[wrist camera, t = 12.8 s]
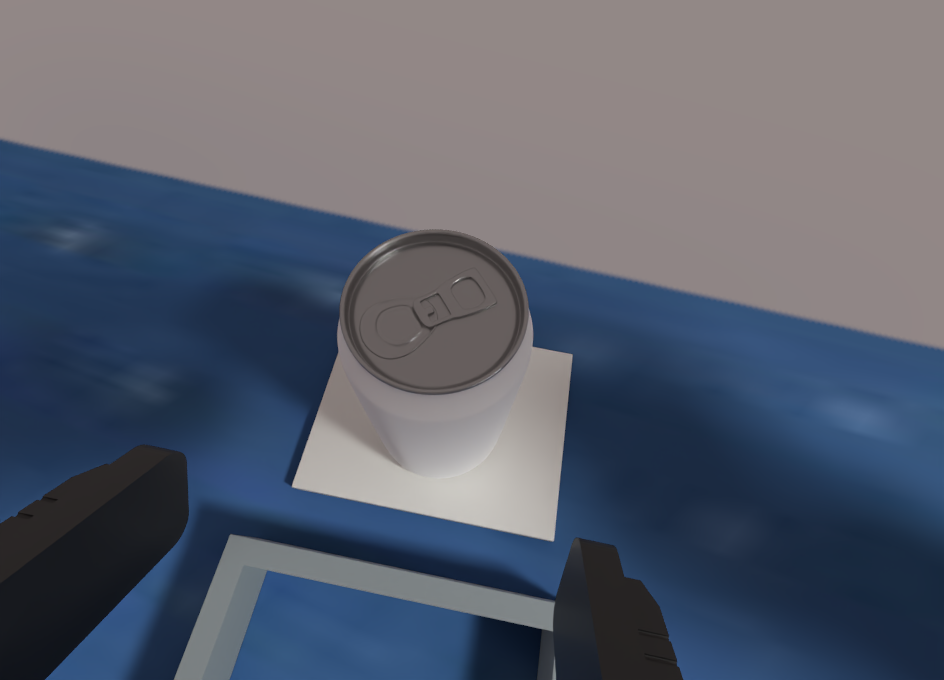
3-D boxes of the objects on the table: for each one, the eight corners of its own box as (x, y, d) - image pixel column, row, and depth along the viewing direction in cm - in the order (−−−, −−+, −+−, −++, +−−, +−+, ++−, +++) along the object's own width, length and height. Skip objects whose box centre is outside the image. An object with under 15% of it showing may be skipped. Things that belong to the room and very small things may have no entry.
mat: (570, 358, 27) (572, 354, 27) (551, 541, 23) (553, 541, 22) (354, 317, 28) (352, 312, 27) (295, 488, 23) (291, 486, 23)
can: (359, 394, 25) (291, 265, 14) (464, 342, 26) (476, 192, 16) (412, 505, 23) (380, 453, 12) (524, 441, 24) (586, 344, 13)
